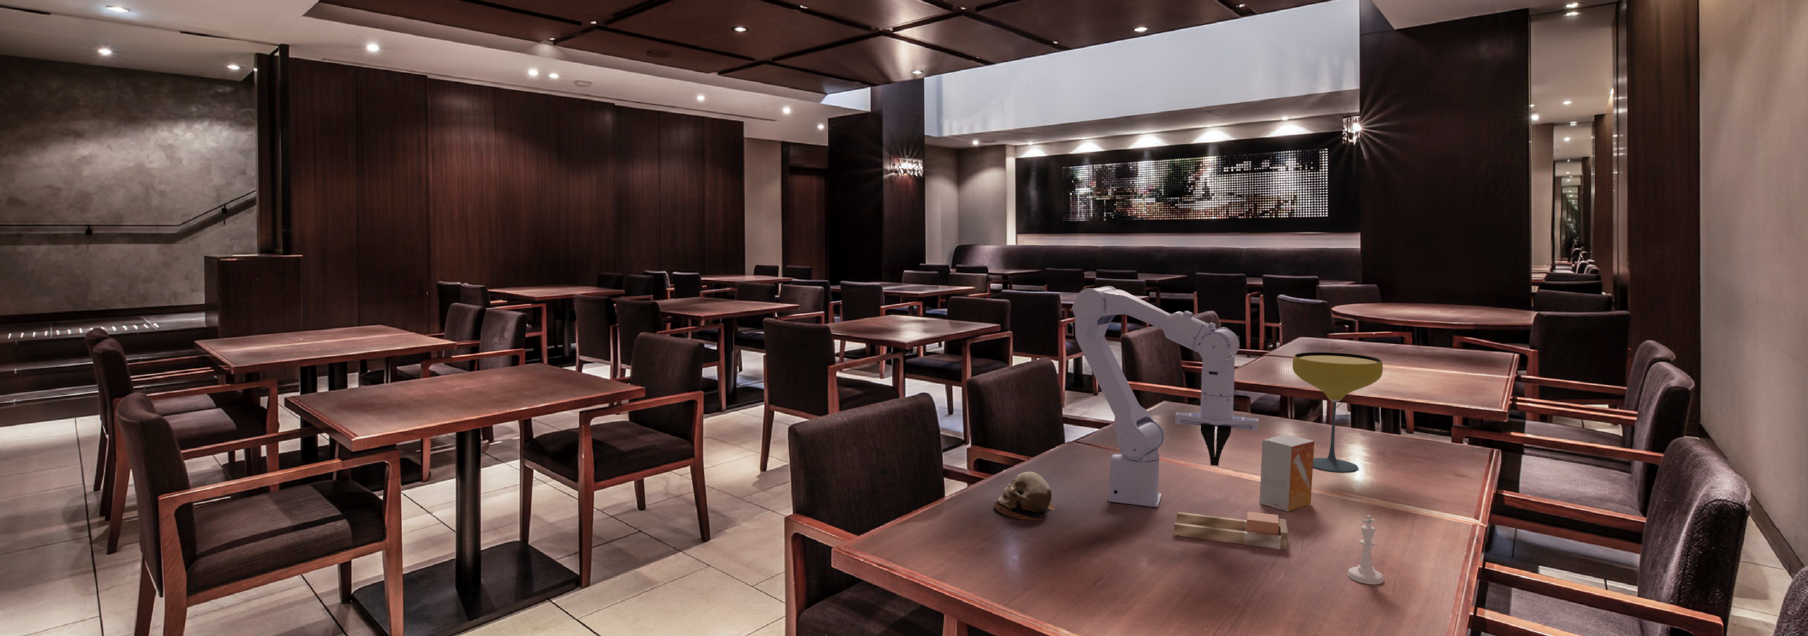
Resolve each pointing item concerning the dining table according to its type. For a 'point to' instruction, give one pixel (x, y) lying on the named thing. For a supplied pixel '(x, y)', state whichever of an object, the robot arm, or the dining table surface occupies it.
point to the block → (1262, 523)
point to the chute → (1227, 530)
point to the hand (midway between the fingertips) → (1214, 464)
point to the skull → (1025, 497)
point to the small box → (1286, 472)
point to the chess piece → (1366, 558)
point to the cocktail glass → (1336, 387)
